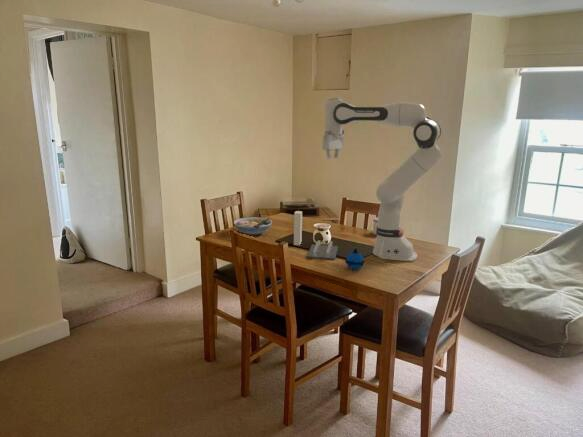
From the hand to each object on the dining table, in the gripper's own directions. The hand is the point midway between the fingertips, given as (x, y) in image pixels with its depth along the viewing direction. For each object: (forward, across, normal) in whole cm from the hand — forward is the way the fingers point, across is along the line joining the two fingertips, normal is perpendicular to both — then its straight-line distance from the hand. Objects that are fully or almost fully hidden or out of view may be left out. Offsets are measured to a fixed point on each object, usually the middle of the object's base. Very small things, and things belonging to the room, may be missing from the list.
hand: (332, 158), depth 228 cm
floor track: (+48, -12, 0) cm, 50 cm away
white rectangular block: (+47, -4, +18) cm, 51 cm away
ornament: (+50, -27, -23) cm, 61 cm away
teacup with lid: (+47, +41, -16) cm, 64 cm away
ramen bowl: (+46, 0, +50) cm, 68 cm away
